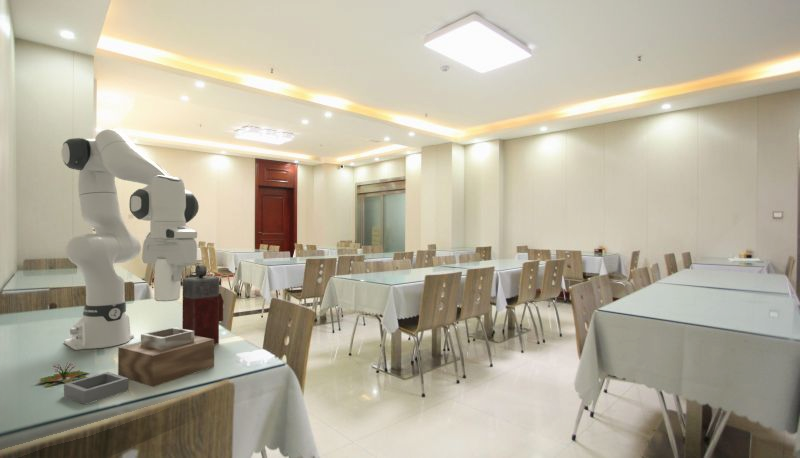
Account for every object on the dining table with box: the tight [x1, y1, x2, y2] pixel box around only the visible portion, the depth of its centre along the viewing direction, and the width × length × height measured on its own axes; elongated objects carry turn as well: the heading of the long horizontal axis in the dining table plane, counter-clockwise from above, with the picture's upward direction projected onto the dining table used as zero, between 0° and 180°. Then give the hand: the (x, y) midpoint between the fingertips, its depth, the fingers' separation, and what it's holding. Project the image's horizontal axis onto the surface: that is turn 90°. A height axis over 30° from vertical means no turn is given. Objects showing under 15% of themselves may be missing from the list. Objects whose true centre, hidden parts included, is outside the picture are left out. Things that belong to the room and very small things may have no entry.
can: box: [153, 258, 182, 302], centre depth 117 cm, size 6×6×12 cm
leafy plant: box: [35, 362, 89, 388], centre depth 110 cm, size 12×12×5 cm
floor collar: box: [63, 371, 130, 405], centre depth 101 cm, size 10×10×3 cm
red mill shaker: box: [181, 264, 224, 345], centre depth 146 cm, size 9×11×28 cm
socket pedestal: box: [117, 326, 215, 388], centre depth 116 cm, size 16×18×11 cm
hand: (168, 280), depth 117 cm, fingers closed on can, 6 cm apart
